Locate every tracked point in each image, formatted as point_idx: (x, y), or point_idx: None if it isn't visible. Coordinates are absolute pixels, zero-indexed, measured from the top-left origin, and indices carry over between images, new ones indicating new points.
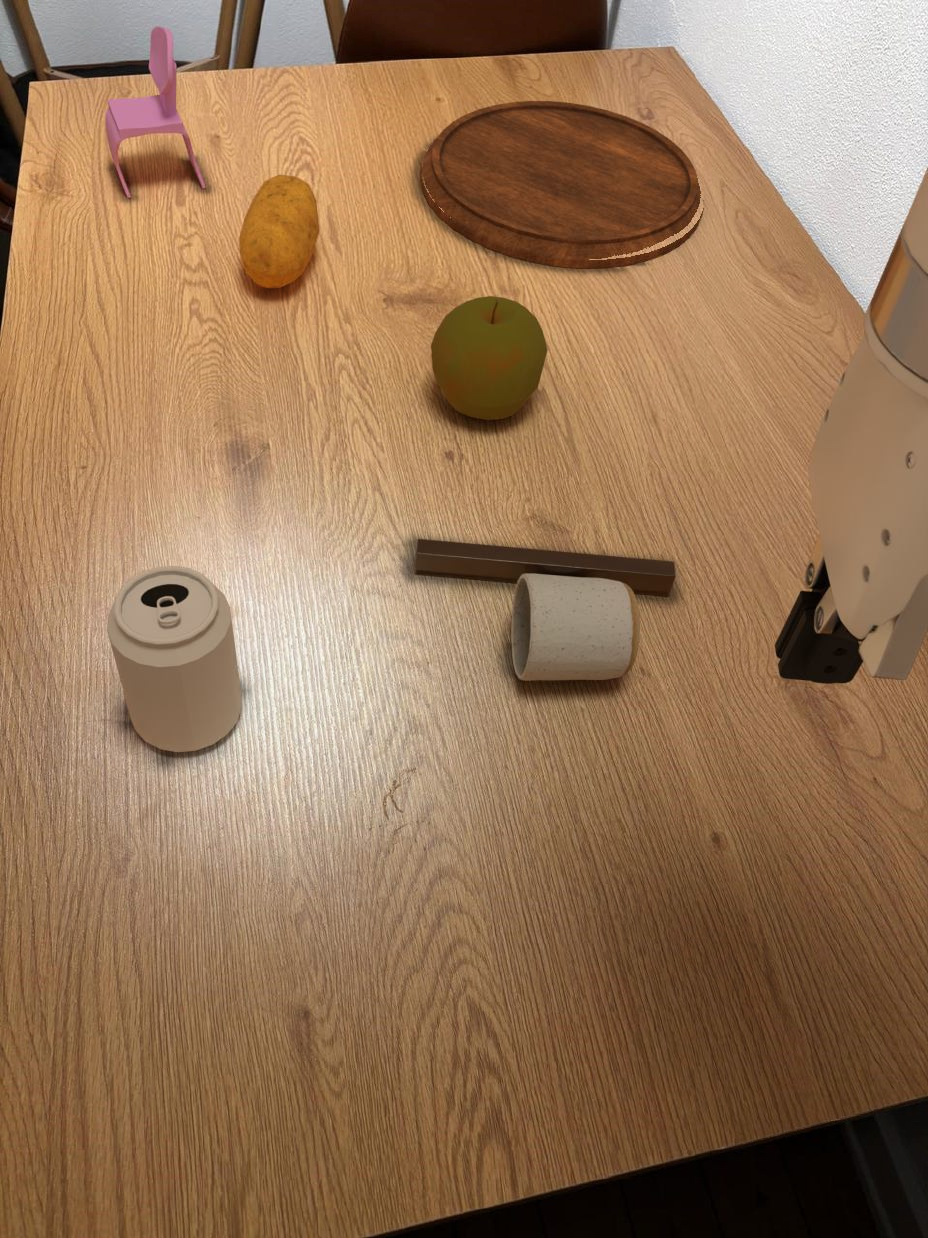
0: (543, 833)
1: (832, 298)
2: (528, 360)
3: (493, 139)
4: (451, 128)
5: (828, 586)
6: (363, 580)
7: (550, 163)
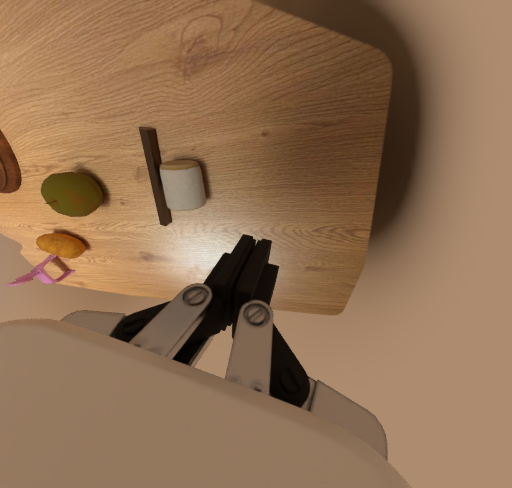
0: (260, 200)
1: None
2: (67, 186)
3: None
4: None
5: (213, 333)
6: (178, 235)
7: None
